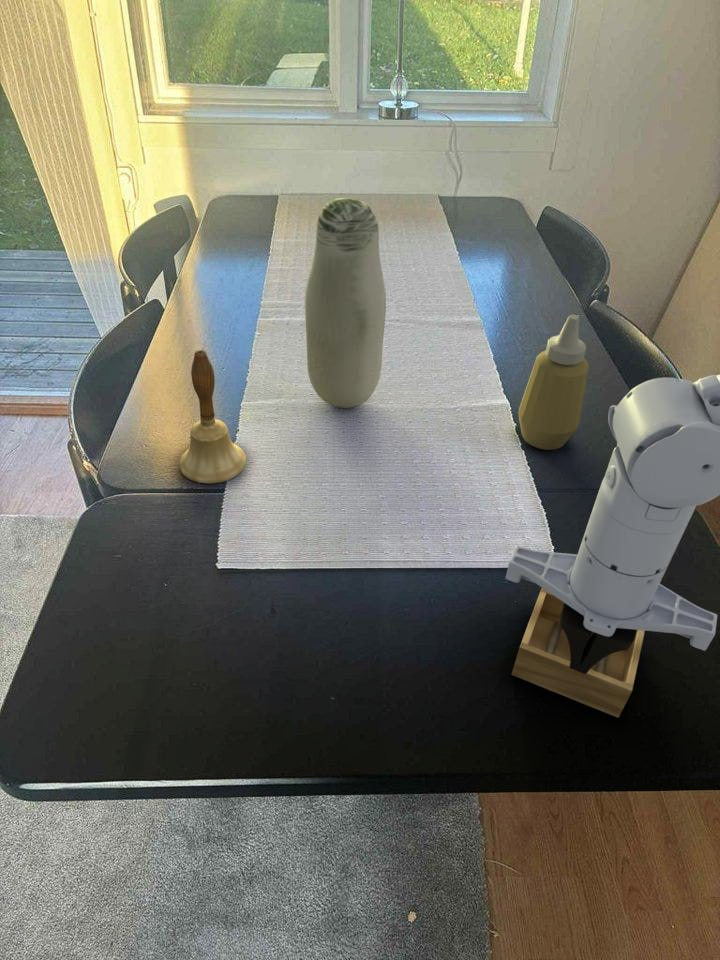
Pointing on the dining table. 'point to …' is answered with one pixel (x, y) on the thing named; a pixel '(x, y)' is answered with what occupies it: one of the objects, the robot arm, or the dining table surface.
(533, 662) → the cutlery caddy
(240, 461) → the hand bell
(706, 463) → the robot arm
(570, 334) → the squeeze bottle
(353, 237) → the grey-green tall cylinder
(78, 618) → the dining table surface
